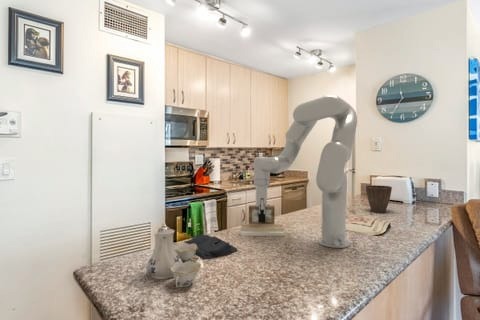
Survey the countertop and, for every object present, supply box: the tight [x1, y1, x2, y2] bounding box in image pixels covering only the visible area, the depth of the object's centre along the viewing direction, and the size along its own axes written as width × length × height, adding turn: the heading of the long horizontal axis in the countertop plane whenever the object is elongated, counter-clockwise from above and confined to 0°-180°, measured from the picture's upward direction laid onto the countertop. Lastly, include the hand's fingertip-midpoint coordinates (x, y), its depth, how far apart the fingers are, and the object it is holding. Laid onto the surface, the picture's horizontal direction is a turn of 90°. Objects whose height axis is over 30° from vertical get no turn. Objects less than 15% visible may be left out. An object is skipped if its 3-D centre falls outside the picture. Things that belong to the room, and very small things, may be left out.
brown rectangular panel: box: [248, 204, 276, 224], centre depth 134 cm, size 12×4×8 cm, turn 88°
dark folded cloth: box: [184, 234, 238, 261], centre depth 112 cm, size 15×22×5 cm
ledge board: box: [240, 223, 286, 237], centre depth 134 cm, size 20×12×3 cm, turn 88°
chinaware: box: [145, 222, 201, 289], centre depth 90 cm, size 28×17×17 cm, turn 16°
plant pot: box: [365, 184, 393, 214], centre depth 177 cm, size 15×15×16 cm
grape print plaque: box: [346, 214, 392, 236], centre depth 146 cm, size 28×6×30 cm
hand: (261, 220), depth 134 cm, fingers closed on brown rectangular panel, 4 cm apart
